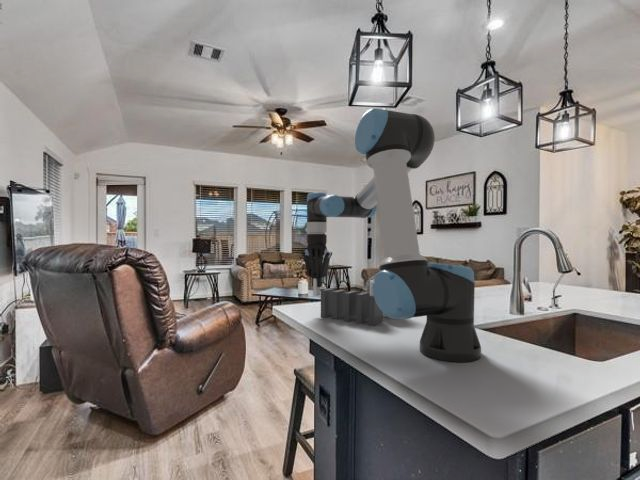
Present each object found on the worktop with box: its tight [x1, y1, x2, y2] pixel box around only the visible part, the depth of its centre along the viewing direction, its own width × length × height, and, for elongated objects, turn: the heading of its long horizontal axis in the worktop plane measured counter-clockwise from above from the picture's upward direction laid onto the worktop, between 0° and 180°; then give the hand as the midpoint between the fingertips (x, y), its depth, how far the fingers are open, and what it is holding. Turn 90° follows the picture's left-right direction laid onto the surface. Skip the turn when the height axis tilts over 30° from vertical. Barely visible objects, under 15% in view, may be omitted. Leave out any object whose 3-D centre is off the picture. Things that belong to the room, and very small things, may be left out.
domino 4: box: [355, 291, 370, 325], centre depth 128 cm, size 2×6×10 cm, turn 145°
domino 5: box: [368, 295, 384, 327], centre depth 125 cm, size 2×6×10 cm, turn 145°
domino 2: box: [331, 288, 347, 321], centre depth 134 cm, size 2×6×10 cm, turn 145°
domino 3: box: [343, 290, 359, 323], centre depth 131 cm, size 2×6×10 cm, turn 144°
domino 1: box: [320, 287, 335, 319], centre depth 137 cm, size 2×6×10 cm, turn 145°
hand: (316, 295), depth 139 cm, fingers closed
